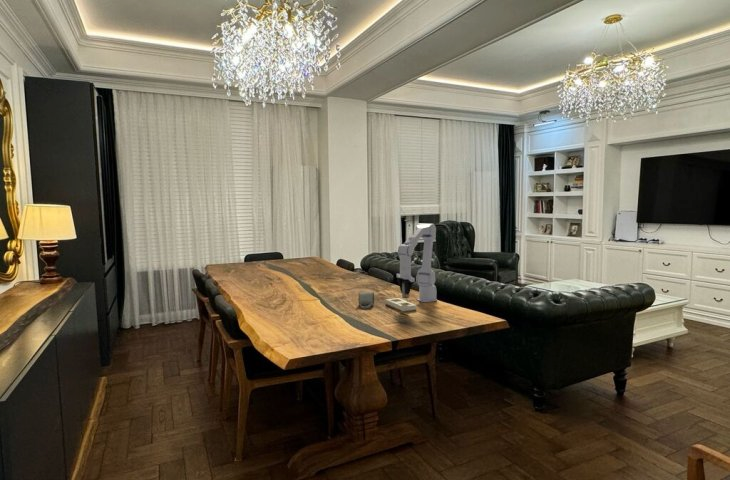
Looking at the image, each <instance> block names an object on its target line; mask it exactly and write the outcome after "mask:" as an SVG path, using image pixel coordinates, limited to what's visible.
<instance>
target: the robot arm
mask: <svg viewBox="0 0 730 480" xmlns="http://www.w3.org/2000/svg"><path fill="white" fill-rule="evenodd" d="M436 234H437V227H436V225H435V224H434V223H421V222H420V223H417V225H416V226H415V232H414V233H413V234H412V235H411V236H410V235H409V237H408V238H407V239H406V240H405V242H403V244H400V245H399V246H398V248H397V254H398V259H399V273H396V278H397V279H396V281H397V283H398V286H399V289H400V293H401V294H402V282H403V284H404V287H405V294H409V295H410V293H411V289H412V286H413V284H414V283H415V281H416V283H417V285H418V287H419V289H418V293H419V294H418V298H416V299H415V300H416V301H419V302H422V303H430V302H437V301H438V299H437V291H438V290H437V286H436V285H435V283H436V279H437V278H436V272H435V271H434V269H432V268H431V267H432V259H433V257H432V256H433V246H434V239H436V237H437V235H436ZM420 238H421V239H422V240H423V251H422V260H421V261H422V262H421V268H419V269H418V270H417V274H416V276H415V277H413V276H412V256H413V254H414V250H415V247H416V246H417V245H418V244H419V240H420Z"/></svg>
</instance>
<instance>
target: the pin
mask: <svg viewBox="0 0 730 480" xmlns="http://www.w3.org/2000/svg"><path fill="white" fill-rule="evenodd" d="M401 299H410V293H409V294H405V287H404V284H403V282H402V293H401Z"/></svg>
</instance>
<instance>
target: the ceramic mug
mask: <svg viewBox="0 0 730 480" xmlns="http://www.w3.org/2000/svg"><path fill="white" fill-rule="evenodd" d="M358 305H359V306H360V308H362V309H363V310H364V309H365V310H367V309H369V308H371V307H374V306H375V293H374V291H366V292H364V291H363V292H359V293H358Z"/></svg>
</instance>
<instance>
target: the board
mask: <svg viewBox="0 0 730 480" xmlns="http://www.w3.org/2000/svg"><path fill="white" fill-rule="evenodd" d="M385 305H386V306H388V307H389V308H392V309H394V310H397V311H398V312H400V313H403V314H404V313H411V312H416V311H417V305H416V304H415V303H412V302H409V301H407V300H405V299H403V298H399V297H395V298H388V299H387V298H386V299H385Z"/></svg>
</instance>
